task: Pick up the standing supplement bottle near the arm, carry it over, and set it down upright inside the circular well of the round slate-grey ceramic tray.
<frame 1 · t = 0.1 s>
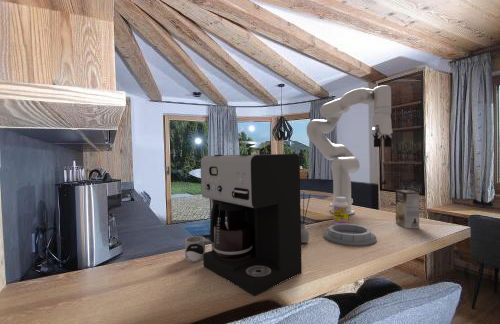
hand: (382, 146, 131), 37 cm above the countertop, tool pointing down, fingers open, 9 cm apart
supplement bottle: (341, 224, 129), on the countertop
coffee maker: (246, 268, 82), on the countertop
round tray: (349, 237, 108), on the countertop
reed diffuser: (299, 243, 103), on the countertop
coffee box: (407, 226, 123), on the countertop
mug: (200, 258, 91), on the countertop
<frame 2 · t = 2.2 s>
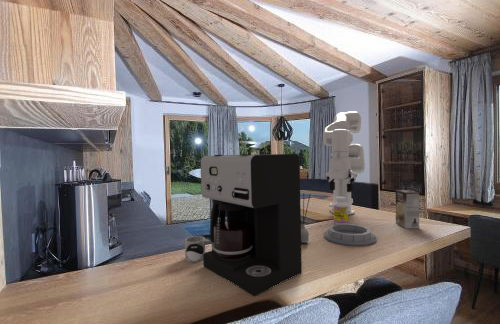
hand: (340, 190, 128), 16 cm above the countertop, tool pointing down, fingers open, 9 cm apart
nothing on the countertop moved.
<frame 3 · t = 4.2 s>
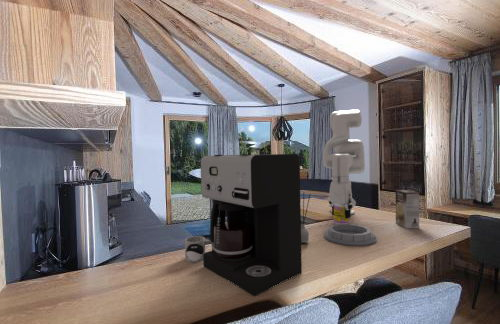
hand: (341, 216, 129), 4 cm above the countertop, tool pointing down, fingers closed on supplement bottle, 6 cm apart
supplement bottle: (341, 224, 129), on the countertop, touching gripper
everything else where it was.
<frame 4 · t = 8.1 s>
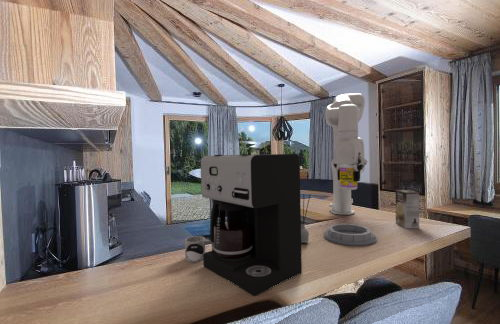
hand: (348, 180, 107), 23 cm above the countertop, tool pointing down, fingers closed on supplement bottle, 6 cm apart
supplement bottle: (348, 189, 107), point 20 cm above the countertop, touching gripper
everything else where it was.
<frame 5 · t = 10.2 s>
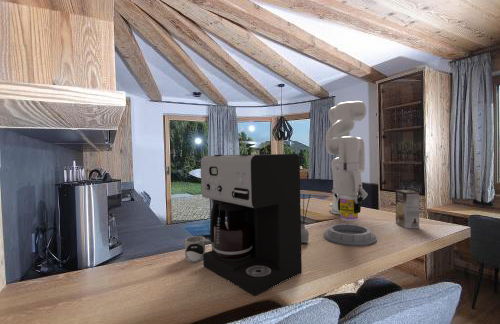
hand: (348, 211, 108), 11 cm above the countertop, tool pointing down, fingers closed on supplement bottle, 6 cm apart
supplement bottle: (349, 220, 108), point 7 cm above the countertop, touching gripper
everything else where it was.
when the fingers open (6 cm above the countertop, at t = 12.1 s): supplement bottle drops 2 cm, resting on round tray.
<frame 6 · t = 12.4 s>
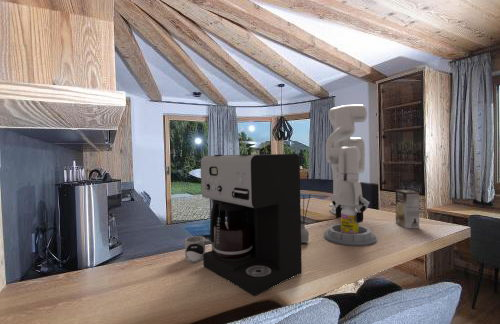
hand: (349, 219, 108), 7 cm above the countertop, tool pointing down, fingers open, 9 cm apart
supplement bottle: (349, 235, 108), point 1 cm above the countertop, touching round tray
everything else where it was.
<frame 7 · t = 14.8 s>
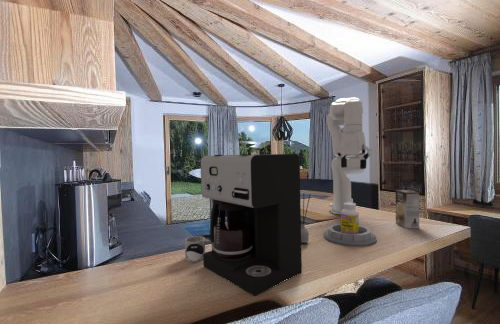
hand: (353, 168, 118), 27 cm above the countertop, tool pointing down, fingers open, 9 cm apart
nothing on the countertop moved.
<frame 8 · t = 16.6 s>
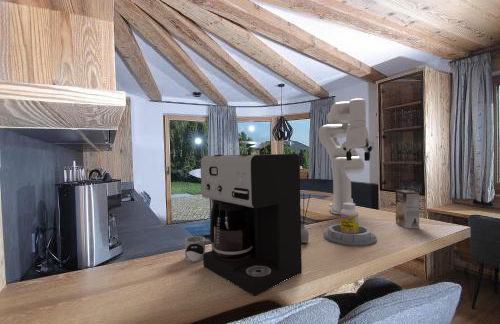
hand: (357, 160, 129), 30 cm above the countertop, tool pointing down, fingers open, 9 cm apart
nothing on the countertop moved.
at the end: supplement bottle 0.1 cm off-centre on the round tray, point 0.8 cm above the round tray's base; supplement bottle tilted 0°; the gripper is holding nothing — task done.
